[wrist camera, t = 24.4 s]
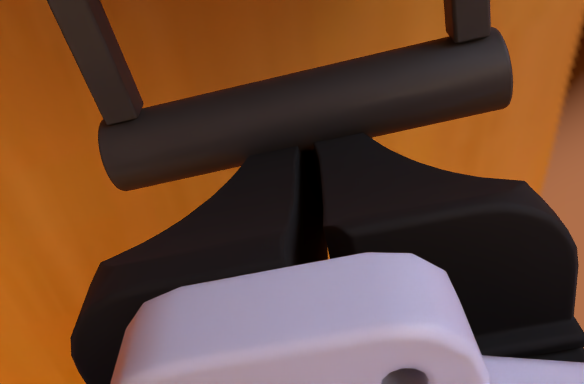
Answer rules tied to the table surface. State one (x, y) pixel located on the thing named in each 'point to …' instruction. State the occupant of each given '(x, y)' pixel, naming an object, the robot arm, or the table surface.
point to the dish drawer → (284, 98)
